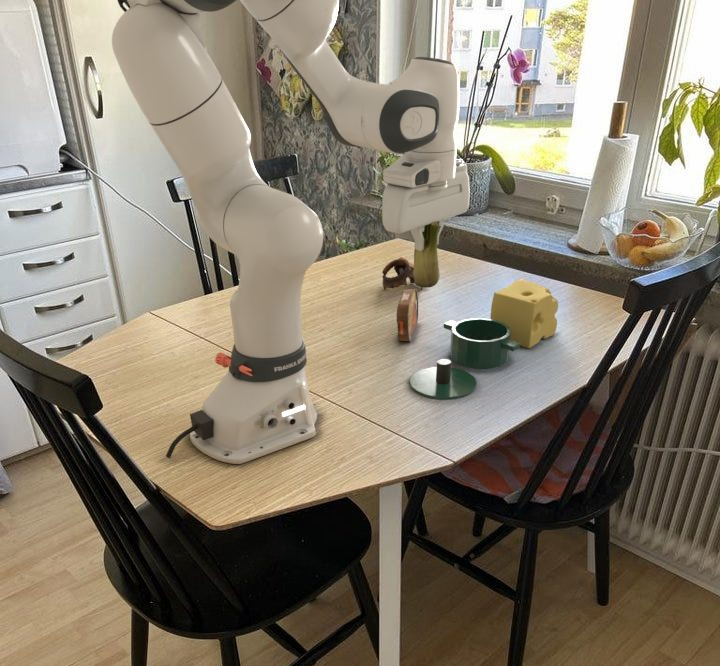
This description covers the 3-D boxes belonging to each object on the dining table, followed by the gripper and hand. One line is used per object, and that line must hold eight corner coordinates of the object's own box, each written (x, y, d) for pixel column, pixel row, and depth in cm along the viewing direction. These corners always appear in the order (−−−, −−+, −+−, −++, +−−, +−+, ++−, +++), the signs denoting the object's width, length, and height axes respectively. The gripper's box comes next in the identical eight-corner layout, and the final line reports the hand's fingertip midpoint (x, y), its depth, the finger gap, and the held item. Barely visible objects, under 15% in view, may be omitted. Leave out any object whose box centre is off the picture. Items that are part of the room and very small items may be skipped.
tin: (409, 348, 148) (410, 309, 144) (394, 347, 149) (394, 308, 144) (419, 320, 160) (420, 283, 156) (405, 319, 161) (405, 282, 156)
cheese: (555, 334, 153) (562, 289, 147) (528, 350, 146) (534, 304, 141) (514, 322, 159) (519, 277, 153) (486, 337, 152) (490, 291, 146)
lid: (448, 409, 127) (449, 383, 124) (396, 387, 134) (396, 362, 132) (489, 385, 134) (491, 360, 132) (437, 365, 142) (439, 341, 139)
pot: (496, 381, 136) (499, 351, 132) (428, 356, 145) (429, 326, 142) (530, 361, 142) (534, 332, 139) (462, 338, 152) (464, 310, 148)
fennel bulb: (410, 280, 137) (411, 216, 130) (435, 279, 137) (438, 214, 130) (416, 291, 132) (418, 224, 125) (442, 289, 132) (445, 223, 126)
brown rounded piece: (429, 295, 174) (415, 270, 168) (393, 312, 176) (379, 288, 170) (420, 267, 181) (407, 242, 175) (387, 283, 184) (373, 259, 178)
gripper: (452, 154, 131) (448, 232, 138) (376, 173, 119) (376, 256, 126) (481, 159, 127) (474, 238, 135) (404, 179, 115) (402, 264, 123)
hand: (426, 247), depth 131 cm, fingers closed on fennel bulb
